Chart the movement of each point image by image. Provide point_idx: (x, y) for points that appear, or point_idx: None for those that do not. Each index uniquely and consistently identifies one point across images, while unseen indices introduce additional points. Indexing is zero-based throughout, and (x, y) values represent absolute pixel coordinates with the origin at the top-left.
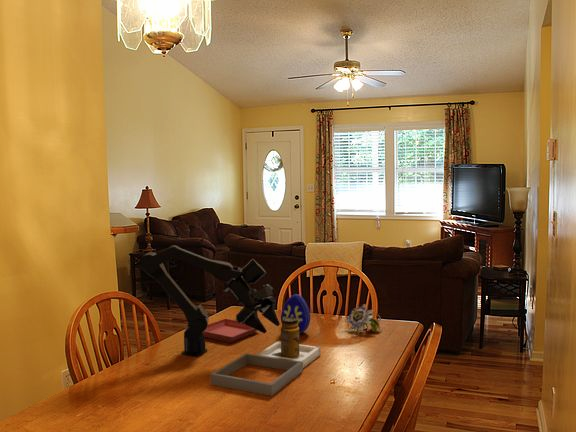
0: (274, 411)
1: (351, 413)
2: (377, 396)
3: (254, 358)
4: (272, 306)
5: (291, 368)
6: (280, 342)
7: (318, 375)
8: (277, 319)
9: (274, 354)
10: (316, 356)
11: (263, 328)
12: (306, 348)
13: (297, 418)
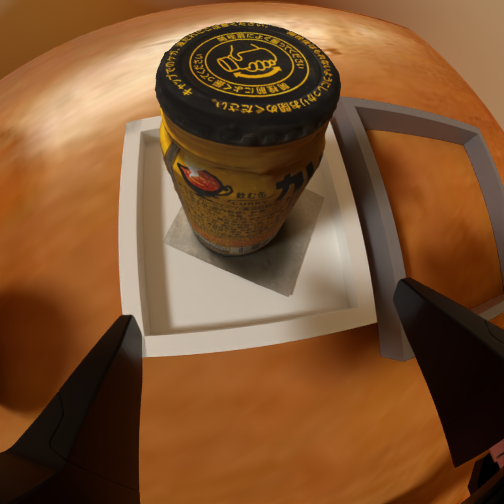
0: (478, 119)
1: (399, 33)
2: (327, 8)
3: None
4: (17, 495)
5: (403, 110)
6: None
7: None
8: (100, 352)
9: (277, 281)
10: None
11: (436, 294)
12: (140, 175)
13: (461, 87)
